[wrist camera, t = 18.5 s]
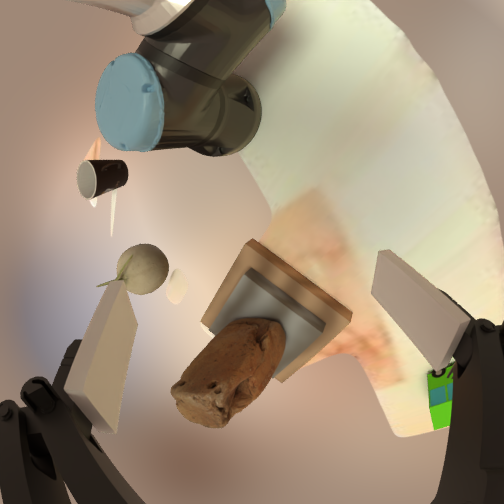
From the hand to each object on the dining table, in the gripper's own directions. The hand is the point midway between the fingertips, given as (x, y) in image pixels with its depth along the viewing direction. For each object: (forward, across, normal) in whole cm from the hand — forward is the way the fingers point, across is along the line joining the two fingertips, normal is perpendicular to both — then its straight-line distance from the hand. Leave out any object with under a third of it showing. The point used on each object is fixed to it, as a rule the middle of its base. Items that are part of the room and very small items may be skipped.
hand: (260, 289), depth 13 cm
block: (+25, +4, -26) cm, 37 cm away
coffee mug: (+52, -22, 0) cm, 57 cm away
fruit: (+46, -14, -19) cm, 52 cm away
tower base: (+30, +7, -26) cm, 41 cm away
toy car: (+7, +42, -33) cm, 54 cm away
